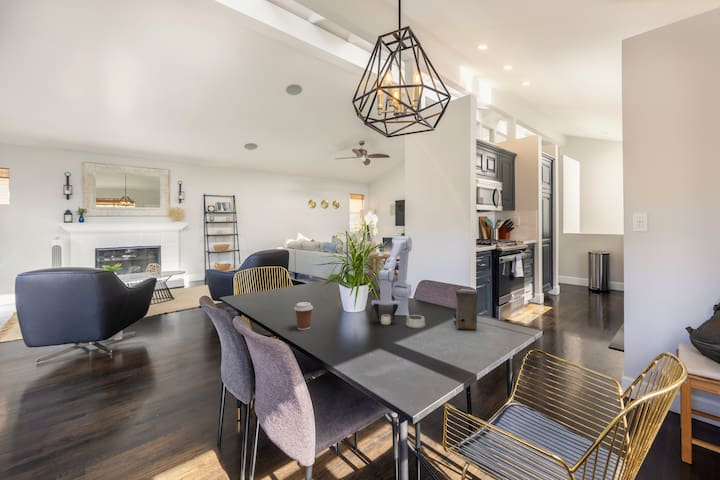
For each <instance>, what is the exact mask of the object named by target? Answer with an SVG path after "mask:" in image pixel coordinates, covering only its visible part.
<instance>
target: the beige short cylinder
mask: <svg viewBox="0 0 720 480" xmlns="http://www.w3.org/2000/svg"><path fill="white" fill-rule="evenodd" d="M391 319H392V315H391V314H389V313H387V314H384V313H383V314H381V315H380V324H381V325H386V326H388V325H389V326H390V325H391V323H392V320H391Z"/></svg>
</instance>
